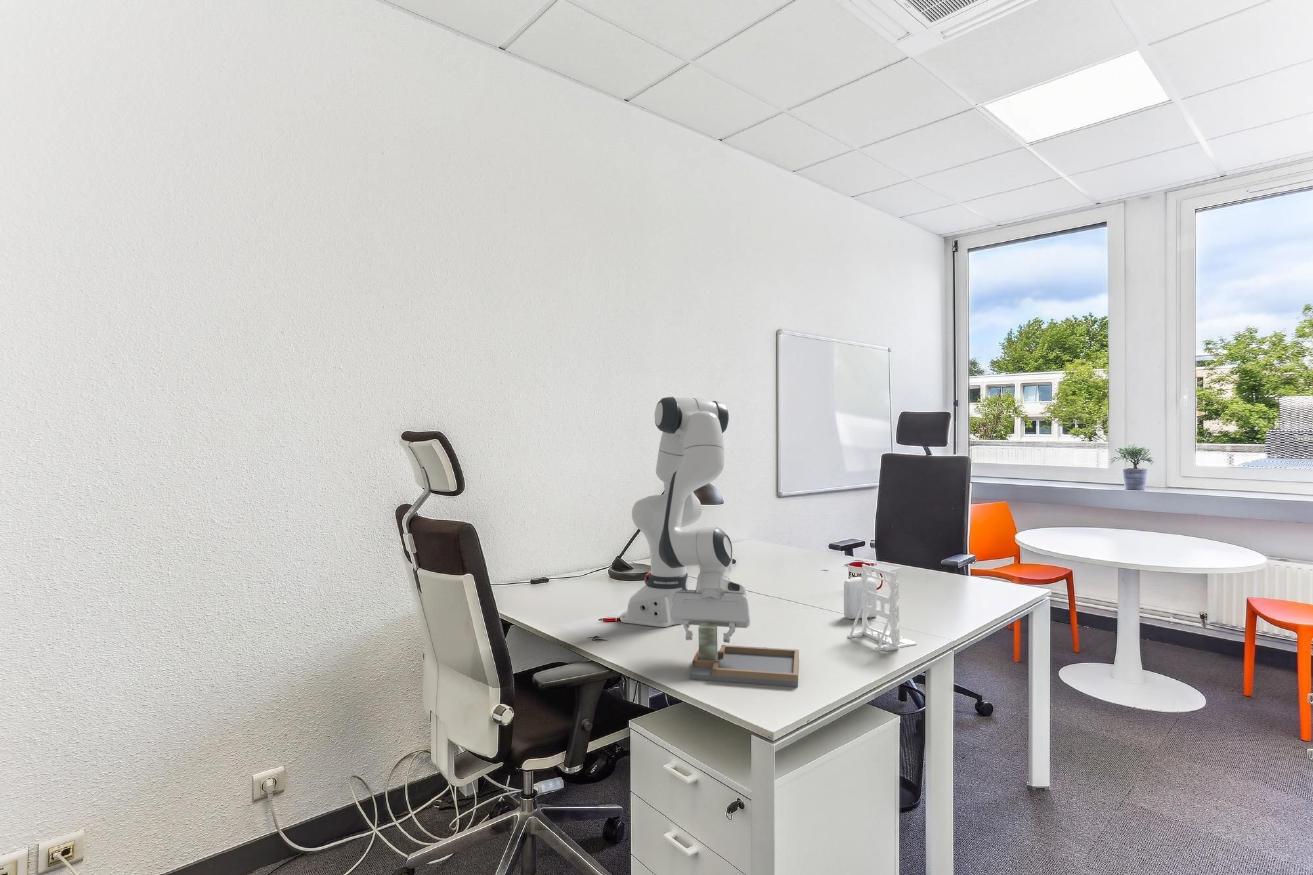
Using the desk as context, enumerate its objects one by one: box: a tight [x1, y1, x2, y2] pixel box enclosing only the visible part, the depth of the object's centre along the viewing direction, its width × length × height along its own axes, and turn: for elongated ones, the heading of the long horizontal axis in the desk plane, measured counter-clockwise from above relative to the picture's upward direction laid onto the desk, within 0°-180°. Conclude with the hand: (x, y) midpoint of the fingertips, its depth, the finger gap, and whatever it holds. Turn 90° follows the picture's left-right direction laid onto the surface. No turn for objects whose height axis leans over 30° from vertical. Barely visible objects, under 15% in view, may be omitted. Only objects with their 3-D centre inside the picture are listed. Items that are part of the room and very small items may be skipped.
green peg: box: [697, 623, 718, 661], centre depth 155 cm, size 4×4×9 cm
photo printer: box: [843, 576, 878, 620], centre depth 194 cm, size 10×4×12 cm, turn 103°
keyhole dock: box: [688, 644, 800, 688], centre depth 153 cm, size 25×17×3 cm
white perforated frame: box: [846, 563, 918, 652], centre depth 172 cm, size 14×14×20 cm
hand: (707, 640), depth 155 cm, fingers open, 8 cm apart
